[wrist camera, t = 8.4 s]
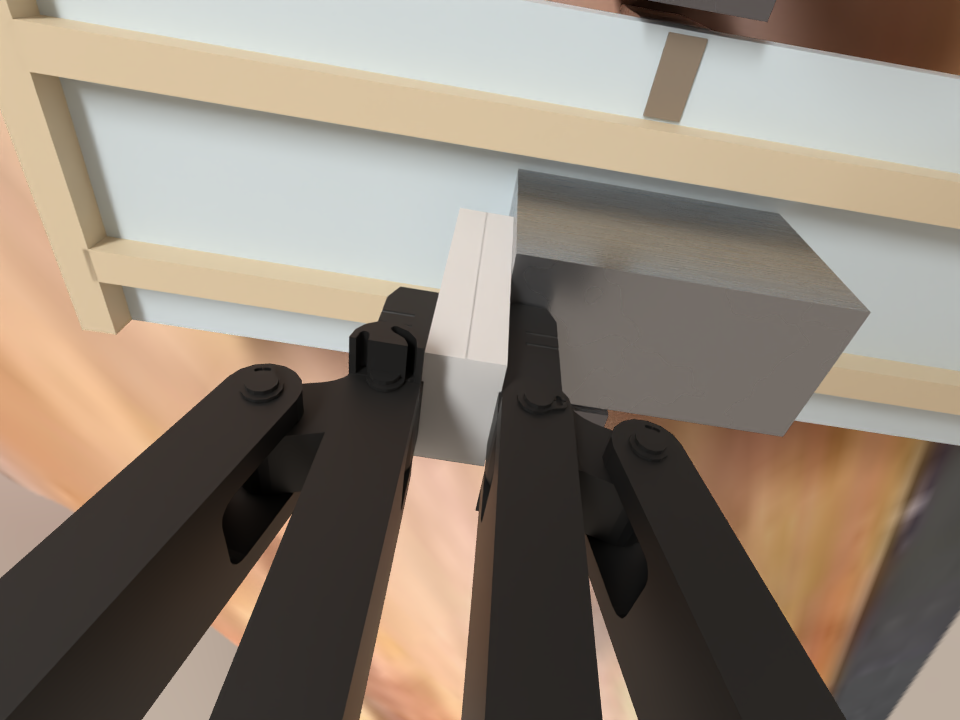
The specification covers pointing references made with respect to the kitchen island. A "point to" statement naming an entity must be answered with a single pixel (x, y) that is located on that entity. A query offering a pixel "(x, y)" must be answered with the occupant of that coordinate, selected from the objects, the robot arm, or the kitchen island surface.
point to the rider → (678, 302)
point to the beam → (466, 162)
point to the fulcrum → (746, 3)
